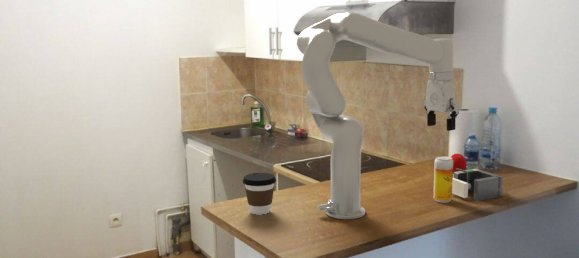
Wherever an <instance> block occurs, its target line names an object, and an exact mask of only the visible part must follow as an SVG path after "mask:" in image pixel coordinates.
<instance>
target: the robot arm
mask: <svg viewBox="0 0 579 258" xmlns="http://www.w3.org/2000/svg"><path fill="white" fill-rule="evenodd" d="M296 40H297V41H296V45H297V48H298V51H300V53H302V54H303V56H302V57H303V58H302V61H301V74H302V75H301V76H302V78H303V81H304V82H305V85H306V87H307V88H308V90H307V93H306V94H305V103H306V107H307V110H308V111H309V113H310V115H311V117H312V120H313V121H314V123H315V124H316V127H317V128H318V130H319V132H320V133H321V135H322V137H323V138H325V139H326V140H328V141H330V142H332V148H331V153H330V160H329V161H330V165H329V166H330V198H329V199H327V202H325V203H322V204H320V203H319V204H316V210H317V211H318V212H319V211H320V212H321V211H324V212H325V214H326V215H327V216H328V217H330V218H334V219H338V220H355V219H359V218H362V217H364V216H365V214H366V208H364V207H363V206H361V169H362V168H361V164H362V163H361V160H362V146H363V141H364V135H365V134H364V128H363V125H362V124H361V123H360V122H359V121H358V120H357V119H356V118H354V117H352V116H349V115H346V114H343V113H344V111H345V109H346V104H347V103H346V100H345V97H344V95H343V93H342V91H341V88H340V87H339V85H338V83H337V81H336V79H335V77H334V74H333V72H332V70H331V66H330V64H331V58H332V55H333V52H334V50H335V48H336V44H337V43H339V42H340V41H347V42H352V43H355V44H357V45H360V46H363V47H366V48H369V49H372V50H375V51H377V52H381V53H385V54H393V55H399V56H404V58H405V59H406V60H407V61H409V62H410V63H413V64H424V65H428V80H427V84H426V89H425V90H426V91H425V92H426V93H425V99H423V101H422V102H423V106H424V107H423V108H424V109H425V110H424V111H425V114H426V116H427V117H426V124H427V127H432V126H436V124H437V121H436V120H437V118H436V117H437V115H436V114H437V113H444V114H445V115H446V116H447V118H446V131H455V130H456V118H457V117H458V115H459V114H460V110H461V107H462V106H461V105H460V104H459V103H458V102H457V101H456V90H455V84H454V42H453V40H452V39H451V38H431V37H427V36H425V35H422V34H419V33H416V32H413V31H410V30H406V29H402V28H399V27H396V26H393V25H390V24H387V23H384V22H381V21H378V20H375V19H373V18H370V17H367V16H364V15H363V14H360V13H357V12H351V11H350V12H339V13H336V14H333V15H331V16H328V17H327V18H325V19H323V20H321V21H319V22H317V23H314V24H313V25H311V26H308V27H307V28H305V29H304V30H302V31H301V32H300V33H299V34H298V37H297V39H296ZM435 112H437V113H435Z"/></svg>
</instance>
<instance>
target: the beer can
mask: <svg viewBox="0 0 579 258" xmlns="http://www.w3.org/2000/svg"><path fill="white" fill-rule="evenodd" d="M433 173H434V174H433V199H434V201H435V202H438V203H442V204H447V203H450V202H451V201H452V200H453V193H452V180H453V160H452V158H451V156H447V155H440V156H436V157H435V159H434V168H433Z"/></svg>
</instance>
